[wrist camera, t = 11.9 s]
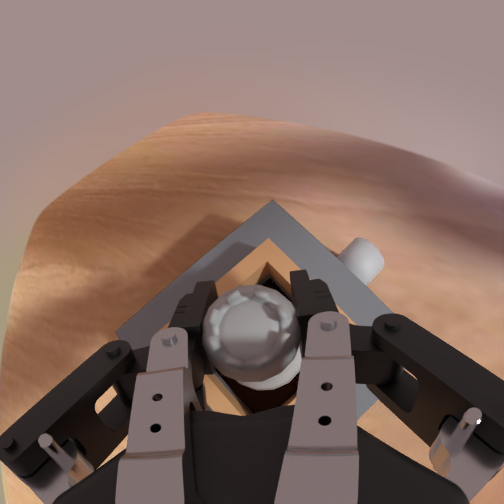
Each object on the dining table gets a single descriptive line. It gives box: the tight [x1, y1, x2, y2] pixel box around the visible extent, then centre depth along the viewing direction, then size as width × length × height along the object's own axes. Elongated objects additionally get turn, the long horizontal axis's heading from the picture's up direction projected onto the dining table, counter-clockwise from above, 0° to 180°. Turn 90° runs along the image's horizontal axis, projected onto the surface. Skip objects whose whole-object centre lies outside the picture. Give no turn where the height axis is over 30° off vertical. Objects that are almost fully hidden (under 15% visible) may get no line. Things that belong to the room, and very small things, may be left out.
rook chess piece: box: [202, 285, 302, 390], centre depth 12 cm, size 4×4×8 cm
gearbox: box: [115, 200, 405, 420], centre depth 18 cm, size 17×14×7 cm
